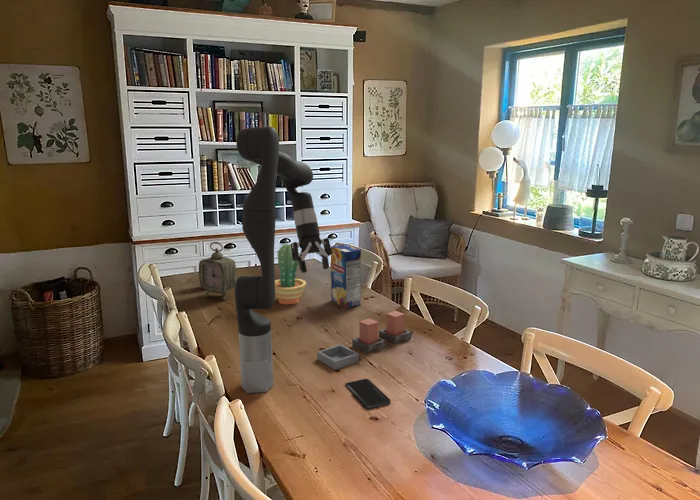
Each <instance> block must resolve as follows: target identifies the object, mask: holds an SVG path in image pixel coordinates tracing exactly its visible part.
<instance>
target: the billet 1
mask: <svg viewBox="0 0 700 500" xmlns="http://www.w3.org/2000/svg"><path fill="white" fill-rule="evenodd" d="M358 328H359V331H358V333H359V334H358V335H359V336H358V337H359V341H360V342H362V343H364V344H366V345H370V344H373V343H376V342H378V335H379V322H378V321H377V320H375V319H372V318H366V319H363V320H360V321H359V327H358Z"/></svg>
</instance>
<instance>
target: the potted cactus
mask: <svg viewBox="0 0 700 500" xmlns="http://www.w3.org/2000/svg"><path fill="white" fill-rule="evenodd" d="M299 252H300V251H298V253H299ZM276 253H277V263H278V266H279V271H280V272H279V279H275V297H277V299H278V303H279V304H282V305H295V304H298V303H299V302H300V298H301V297H302V295H303V293H304V290H305V288H306V287H307V281H306V280H304V279H301V278H296V276H297V271H298V270H297V269H298V267H299V262H298V261H293V259H292V251H291V243H285V244H284V243H283V244H282V246H280V247H279V248H278V250H277V252H276ZM299 254H300V253H299Z"/></svg>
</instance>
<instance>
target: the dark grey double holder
mask: <svg viewBox="0 0 700 500" xmlns="http://www.w3.org/2000/svg"><path fill="white" fill-rule="evenodd" d="M415 340H416V339H415V338H413V337H412V331H410V330H407V329H406V328H404V333H403V334H400V335H397V336H393V335H391V334H388V333H386V328H383V329H380V330H379V329H378V342H376V343H373V344H370V345H366V344H364V343H362V342H360V341H359V336H358V337H355V338H352V340H351V341H352V342H351V343H350V344H348V346H349V347H352V348H353V349H355V350H357V351H359V352H361V353H363V354H365V355H367V356H368V357H370V356H372V355H375V354H379V353H381V352H384V351H387V350H391V349H393V348H395V347H398V346H401V345H404V344H407V343H411V342H412V341H413V342H414V341H415Z"/></svg>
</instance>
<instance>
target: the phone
mask: <svg viewBox="0 0 700 500" xmlns="http://www.w3.org/2000/svg"><path fill="white" fill-rule="evenodd" d="M344 385H345V387H346V388H347V389H348V390H349V392H350V393H351V395H352V396H353V397H354V399H356V400H357V401H358V403H359V404H360V405H361V404H362V405H361V406H362V407H363V408H364V409H365V410H372V409H377V408H381V406H382V407H384V406H385V405H386V406H389V405H390V404H391V399H390V398H389V397H388V396H387V395H386V394H385V393H384V392H383V391H382V390H381V389H379V388H378V386H376V385H375V384H374V383H373V382H372V381H371V380H370V379H369V378H363V379H358V380H353V381H349V382H346V383H344ZM388 404H389V405H388Z"/></svg>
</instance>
